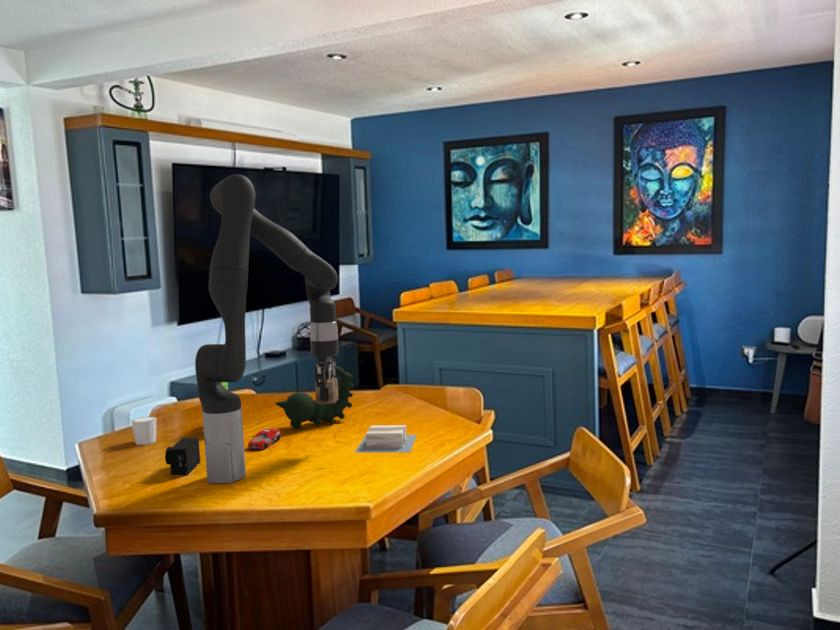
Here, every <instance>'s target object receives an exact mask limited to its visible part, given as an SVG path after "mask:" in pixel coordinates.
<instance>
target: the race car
mask: <svg viewBox="0 0 840 630" xmlns="http://www.w3.org/2000/svg"><path fill="white" fill-rule="evenodd" d="M252 437H253V438H252V439H251V440H249V442H248V443H247V448H248V449H249V450H252V451H253V450H266V449H267V448H268V447H270V446H271V445H273V444H275V443H276V442H279V441H280V439H281V437H282V436H281V431H280V430H279V428H276V429H275V428H264V429H262V430H259V431H258V432H256V434H255V435H253V436H252ZM278 440H279V441H278Z"/></svg>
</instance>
